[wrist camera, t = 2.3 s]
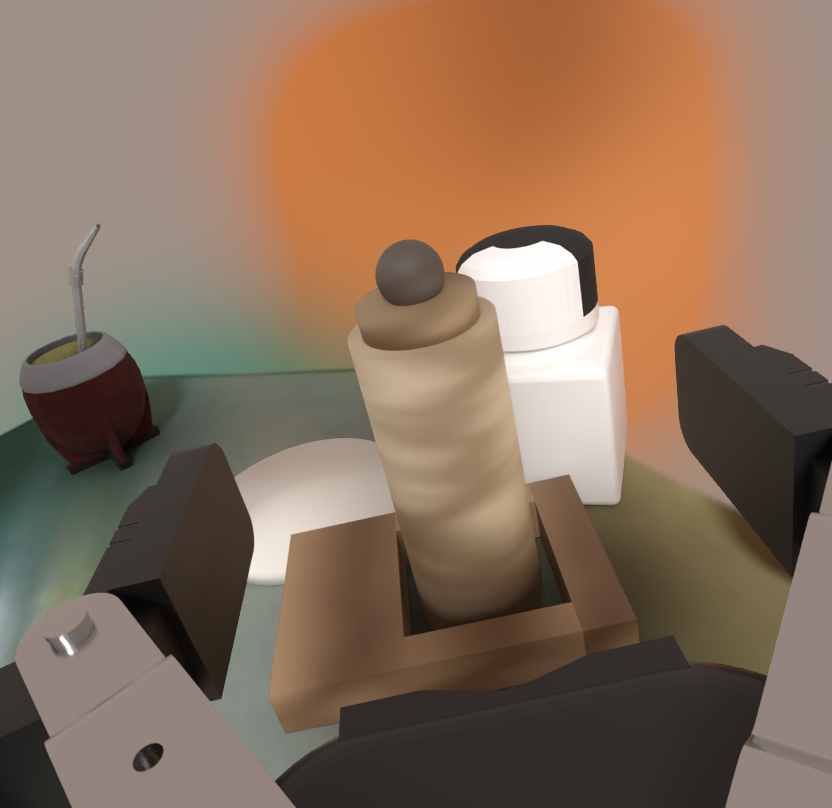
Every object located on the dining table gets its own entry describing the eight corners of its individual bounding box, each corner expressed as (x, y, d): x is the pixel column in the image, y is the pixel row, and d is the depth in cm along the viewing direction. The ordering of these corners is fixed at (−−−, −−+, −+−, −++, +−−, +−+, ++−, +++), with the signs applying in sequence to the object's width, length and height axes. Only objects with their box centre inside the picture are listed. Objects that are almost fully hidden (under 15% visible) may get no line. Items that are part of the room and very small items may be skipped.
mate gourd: (55, 457, 50) (-55, 253, 43) (162, 409, 53) (76, 213, 46) (75, 499, 44) (-49, 270, 37) (194, 442, 47) (100, 223, 40)
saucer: (186, 606, 33) (178, 590, 32) (226, 475, 43) (220, 461, 42) (418, 556, 32) (413, 539, 32) (405, 436, 42) (401, 422, 42)
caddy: (285, 733, 26) (268, 696, 25) (303, 567, 34) (290, 534, 33) (641, 660, 25) (637, 619, 24) (573, 509, 33) (569, 474, 32)
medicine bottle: (499, 428, 41) (462, 224, 35) (628, 425, 38) (610, 204, 33) (470, 505, 35) (420, 276, 29) (620, 508, 32) (596, 257, 27)
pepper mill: (429, 659, 27) (320, 284, 20) (420, 571, 32) (327, 239, 24) (558, 632, 27) (494, 244, 20) (530, 548, 31) (469, 206, 24)
